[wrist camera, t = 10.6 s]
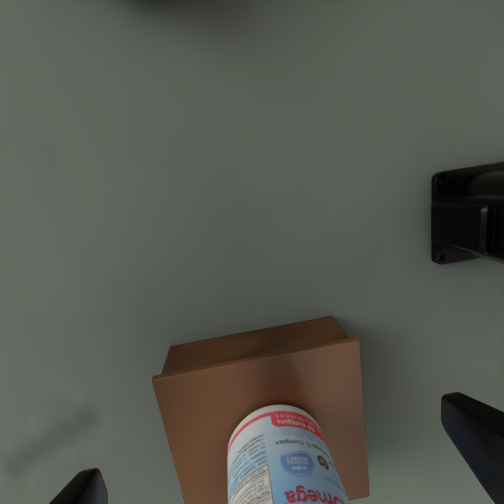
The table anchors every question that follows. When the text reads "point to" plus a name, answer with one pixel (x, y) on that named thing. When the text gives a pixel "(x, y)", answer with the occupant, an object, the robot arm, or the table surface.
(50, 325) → the table surface
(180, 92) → the table surface
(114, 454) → the table surface
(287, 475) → the pill bottle
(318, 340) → the walnut platform
